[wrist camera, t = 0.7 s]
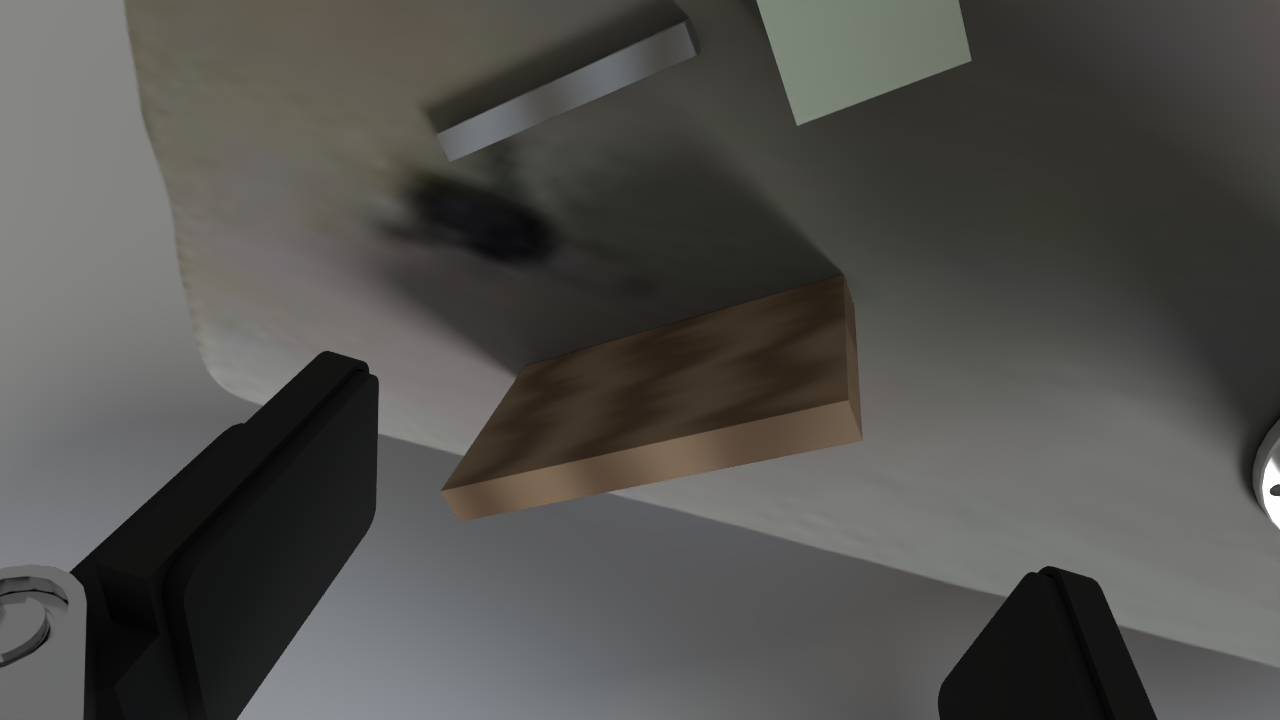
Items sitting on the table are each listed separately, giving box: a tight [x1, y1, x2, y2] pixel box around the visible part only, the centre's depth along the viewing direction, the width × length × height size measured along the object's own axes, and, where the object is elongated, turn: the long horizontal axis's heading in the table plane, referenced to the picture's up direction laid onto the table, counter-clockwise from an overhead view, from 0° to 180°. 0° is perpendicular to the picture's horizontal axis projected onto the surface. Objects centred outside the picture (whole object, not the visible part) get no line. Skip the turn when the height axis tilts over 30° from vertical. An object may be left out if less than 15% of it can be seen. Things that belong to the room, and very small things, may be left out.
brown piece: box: [436, 18, 863, 521], centre depth 35 cm, size 20×16×12 cm
